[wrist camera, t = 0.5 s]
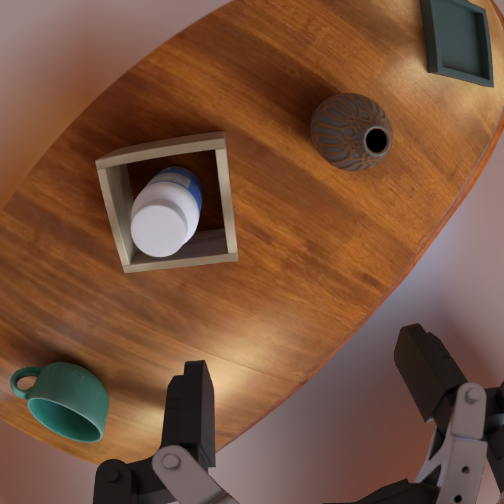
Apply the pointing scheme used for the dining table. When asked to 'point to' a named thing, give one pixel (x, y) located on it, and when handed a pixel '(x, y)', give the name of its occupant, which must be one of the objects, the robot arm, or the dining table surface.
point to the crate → (121, 202)
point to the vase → (351, 132)
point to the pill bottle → (166, 211)
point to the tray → (458, 40)
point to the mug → (66, 400)
